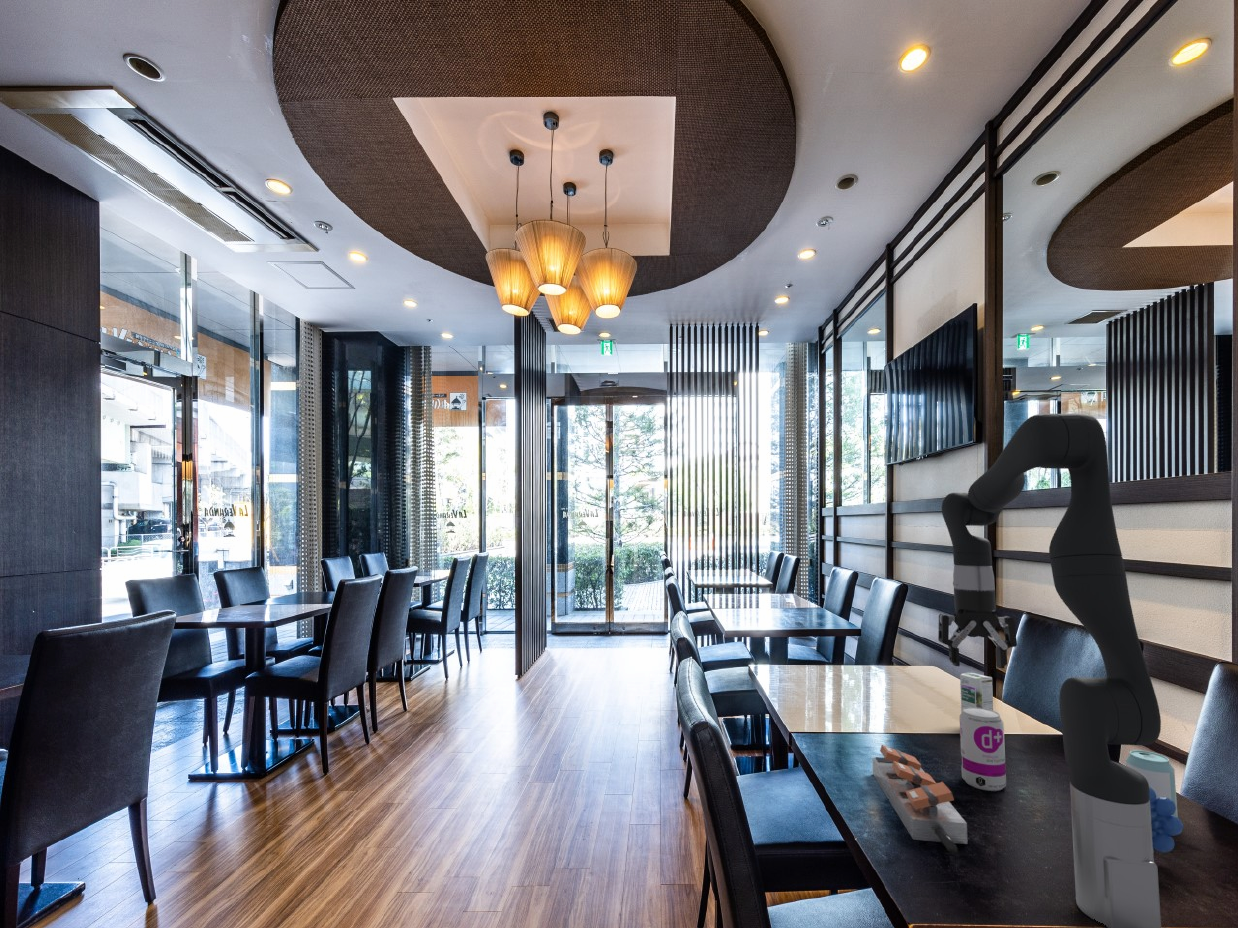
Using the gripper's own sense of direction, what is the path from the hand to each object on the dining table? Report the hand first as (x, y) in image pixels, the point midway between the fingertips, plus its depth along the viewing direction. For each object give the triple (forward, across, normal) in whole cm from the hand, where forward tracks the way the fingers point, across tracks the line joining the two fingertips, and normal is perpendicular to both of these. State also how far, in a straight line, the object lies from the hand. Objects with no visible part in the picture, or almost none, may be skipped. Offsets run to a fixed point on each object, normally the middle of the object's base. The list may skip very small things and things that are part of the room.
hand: (978, 666), depth 127 cm
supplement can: (+26, +3, +9) cm, 28 cm away
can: (+27, +28, -3) cm, 39 cm away
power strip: (+27, -15, -7) cm, 31 cm away
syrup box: (+25, +16, +45) cm, 54 cm away
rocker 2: (+21, -15, -5) cm, 26 cm away
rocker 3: (+21, -15, -14) cm, 29 cm away
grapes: (+27, +17, -17) cm, 37 cm away
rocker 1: (+20, -15, +4) cm, 26 cm away
